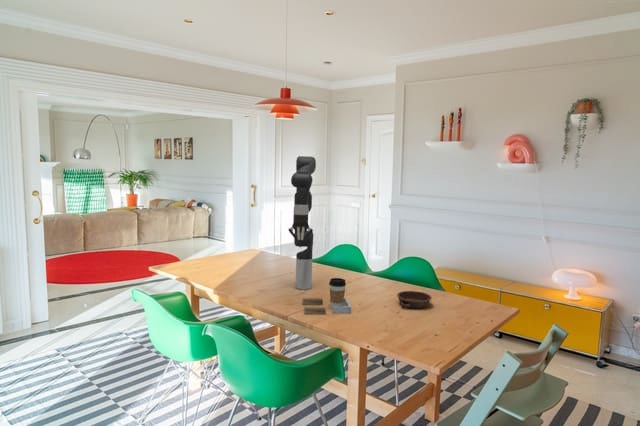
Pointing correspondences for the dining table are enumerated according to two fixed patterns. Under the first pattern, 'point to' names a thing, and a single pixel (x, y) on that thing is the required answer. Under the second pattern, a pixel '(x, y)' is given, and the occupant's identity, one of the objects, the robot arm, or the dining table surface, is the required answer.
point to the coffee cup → (337, 292)
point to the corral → (343, 309)
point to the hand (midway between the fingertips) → (300, 246)
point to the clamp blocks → (313, 309)
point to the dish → (414, 299)
